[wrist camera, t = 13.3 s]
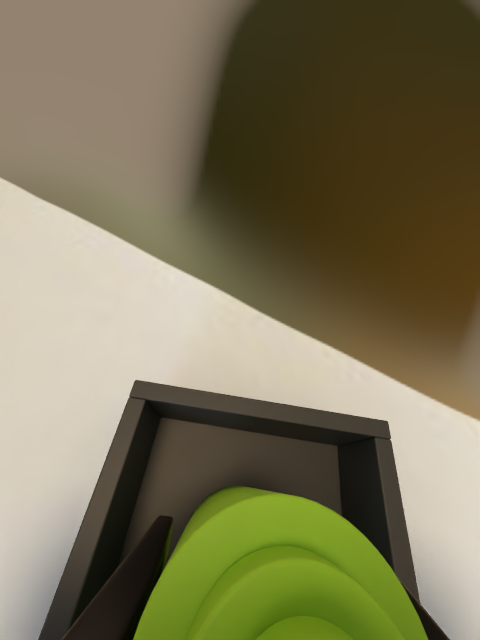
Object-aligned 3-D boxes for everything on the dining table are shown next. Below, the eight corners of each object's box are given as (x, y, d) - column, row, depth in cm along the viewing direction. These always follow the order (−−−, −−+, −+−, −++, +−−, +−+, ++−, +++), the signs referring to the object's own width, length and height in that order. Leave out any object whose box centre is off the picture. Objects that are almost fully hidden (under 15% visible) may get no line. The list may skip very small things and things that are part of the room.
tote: (377, 794, 9) (497, 1024, 5) (44, 746, 9) (-78, 945, 5) (345, 434, 16) (388, 421, 12) (153, 403, 15) (135, 379, 12)
